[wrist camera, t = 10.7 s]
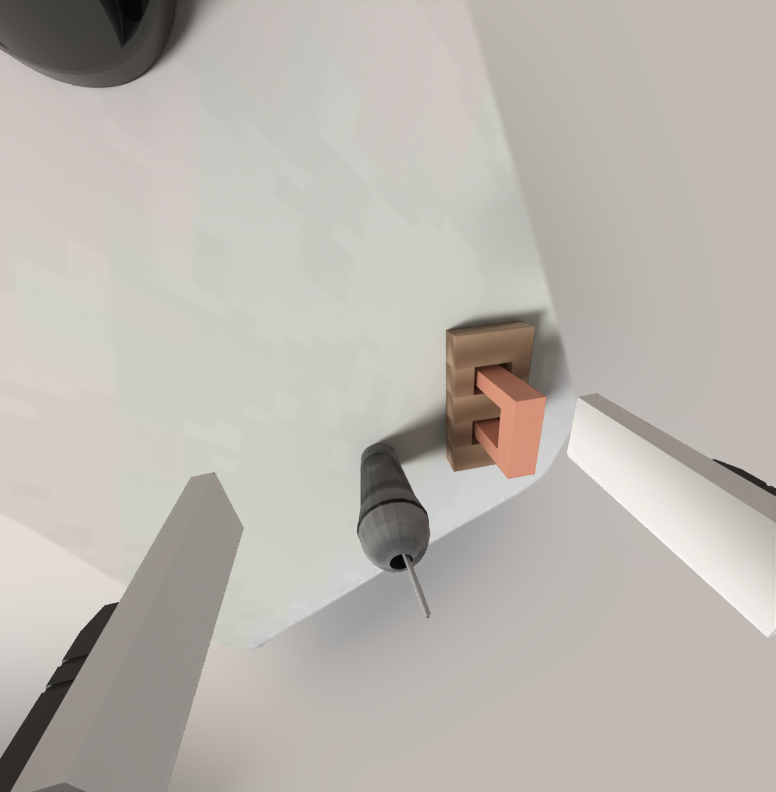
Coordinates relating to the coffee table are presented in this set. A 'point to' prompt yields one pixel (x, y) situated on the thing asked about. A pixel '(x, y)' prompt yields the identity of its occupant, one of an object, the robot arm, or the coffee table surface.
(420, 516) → the beverage cup
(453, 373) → the slotted wooden board
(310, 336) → the coffee table surface
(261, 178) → the coffee table surface
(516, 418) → the block
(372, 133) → the coffee table surface
